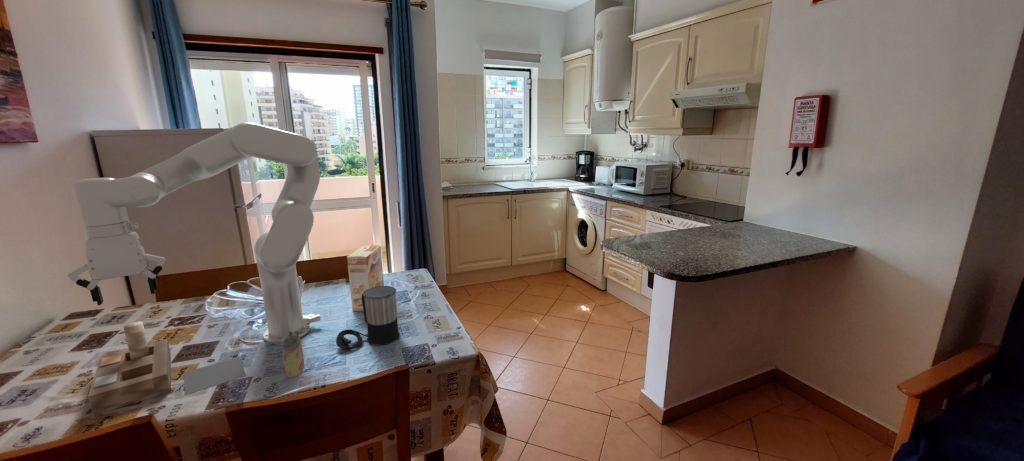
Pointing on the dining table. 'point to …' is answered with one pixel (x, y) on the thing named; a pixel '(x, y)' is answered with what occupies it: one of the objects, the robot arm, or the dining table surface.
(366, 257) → the coffeecake box
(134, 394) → the socket block
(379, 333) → the milk frother
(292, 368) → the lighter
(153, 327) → the dining table surface
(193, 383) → the mat
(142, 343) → the peg
